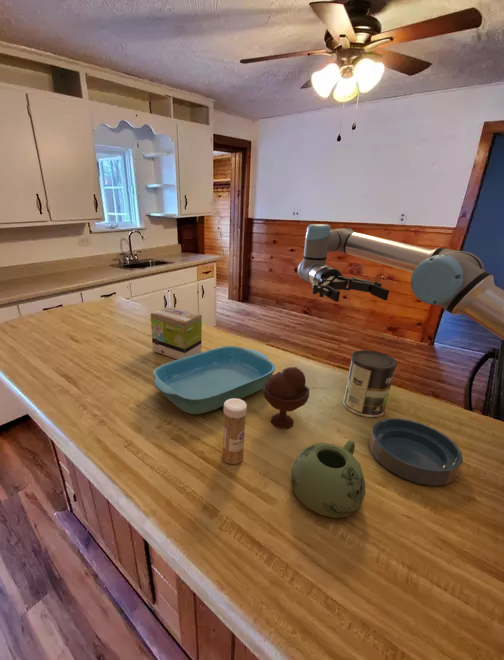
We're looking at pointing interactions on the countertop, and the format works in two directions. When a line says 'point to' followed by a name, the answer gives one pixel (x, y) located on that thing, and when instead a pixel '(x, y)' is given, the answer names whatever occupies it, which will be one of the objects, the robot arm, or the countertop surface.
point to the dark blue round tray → (415, 451)
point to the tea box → (176, 332)
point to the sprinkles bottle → (234, 430)
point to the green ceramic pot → (329, 479)
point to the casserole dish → (213, 378)
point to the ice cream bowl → (286, 394)
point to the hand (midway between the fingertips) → (362, 296)
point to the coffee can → (369, 383)
